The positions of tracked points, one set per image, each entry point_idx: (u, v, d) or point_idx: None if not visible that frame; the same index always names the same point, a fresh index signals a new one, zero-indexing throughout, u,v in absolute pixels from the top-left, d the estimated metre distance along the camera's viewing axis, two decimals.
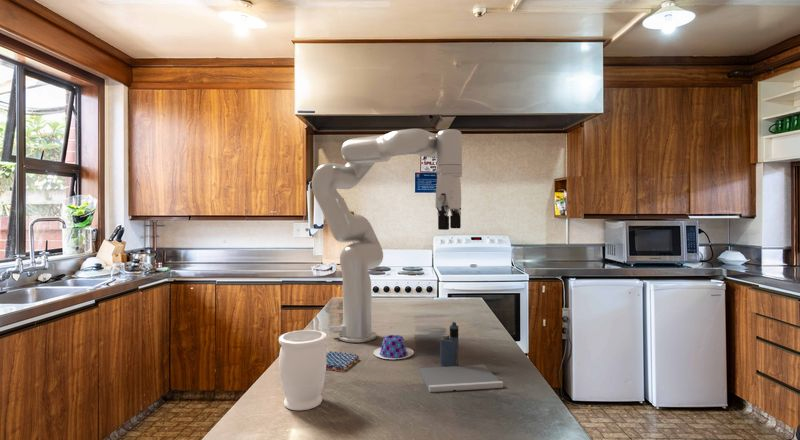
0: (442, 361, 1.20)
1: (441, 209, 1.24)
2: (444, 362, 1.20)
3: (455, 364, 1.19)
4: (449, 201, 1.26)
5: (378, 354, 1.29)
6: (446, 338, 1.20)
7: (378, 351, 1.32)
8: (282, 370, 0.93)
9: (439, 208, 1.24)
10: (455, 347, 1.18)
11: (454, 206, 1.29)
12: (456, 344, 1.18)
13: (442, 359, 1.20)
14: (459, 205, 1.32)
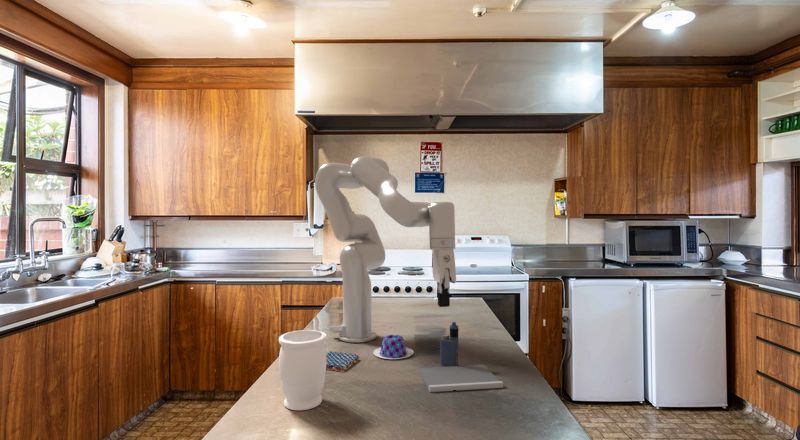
0: (442, 361, 1.20)
1: None
2: (444, 362, 1.20)
3: (455, 364, 1.19)
4: None
5: (378, 354, 1.30)
6: (446, 338, 1.20)
7: (378, 351, 1.32)
8: (282, 370, 0.93)
9: None
10: (455, 347, 1.18)
11: (435, 278, 1.30)
12: (456, 344, 1.18)
13: (442, 359, 1.20)
14: (437, 279, 1.26)
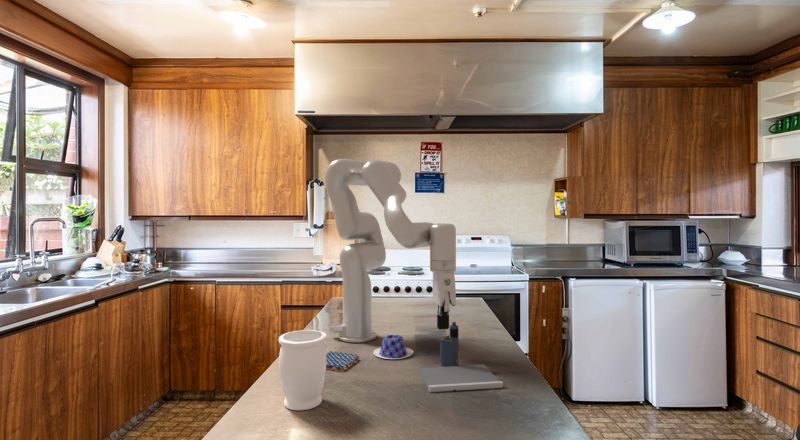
0: (442, 361, 1.20)
1: None
2: (444, 362, 1.20)
3: (455, 364, 1.19)
4: None
5: (378, 354, 1.30)
6: (446, 338, 1.20)
7: (378, 351, 1.32)
8: (282, 370, 0.93)
9: None
10: (455, 347, 1.18)
11: (434, 300, 1.29)
12: (456, 344, 1.18)
13: (442, 359, 1.20)
14: (437, 302, 1.25)
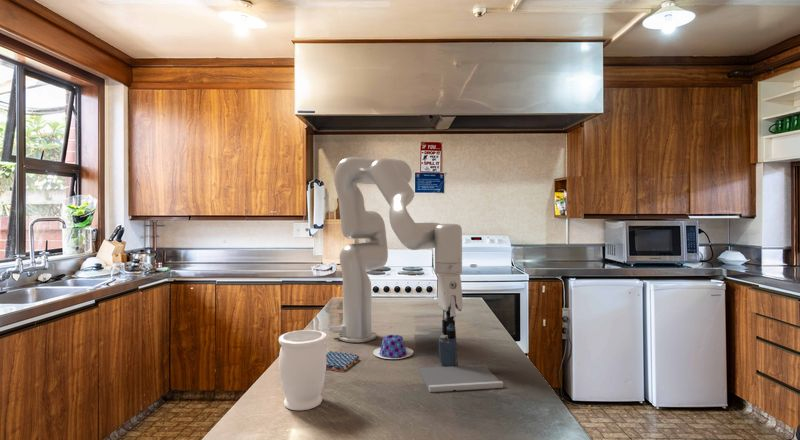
0: (442, 361, 1.20)
1: None
2: (444, 362, 1.20)
3: (455, 364, 1.19)
4: None
5: (378, 354, 1.30)
6: (444, 339, 1.19)
7: (378, 351, 1.32)
8: (282, 370, 0.93)
9: None
10: (453, 348, 1.17)
11: (439, 304, 1.22)
12: (454, 345, 1.17)
13: (441, 359, 1.20)
14: (443, 306, 1.19)
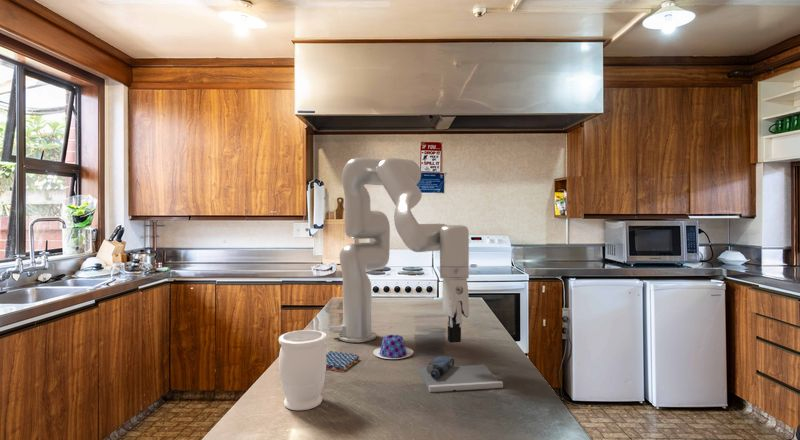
0: None
1: None
2: None
3: (452, 364, 1.18)
4: None
5: (378, 354, 1.30)
6: None
7: (378, 351, 1.32)
8: (282, 370, 0.93)
9: None
10: None
11: (445, 310, 1.16)
12: (445, 371, 1.13)
13: None
14: (448, 312, 1.12)
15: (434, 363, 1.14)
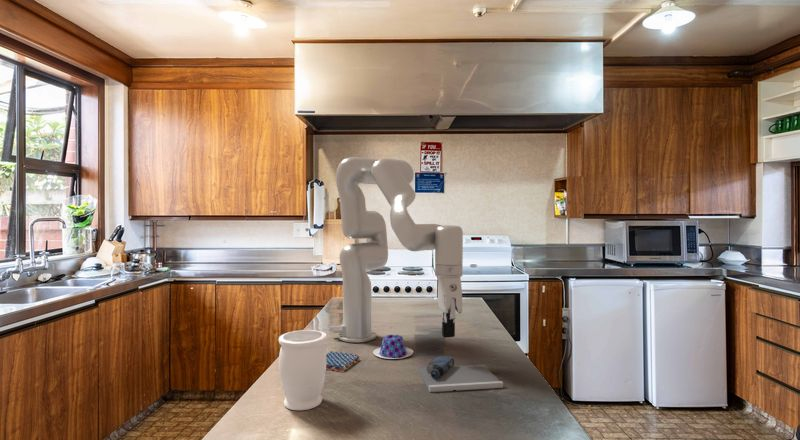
0: None
1: None
2: None
3: (452, 364, 1.18)
4: None
5: (378, 354, 1.30)
6: None
7: (378, 351, 1.32)
8: (282, 370, 0.93)
9: None
10: None
11: (439, 306, 1.22)
12: (445, 371, 1.13)
13: None
14: (442, 308, 1.18)
15: (434, 363, 1.14)
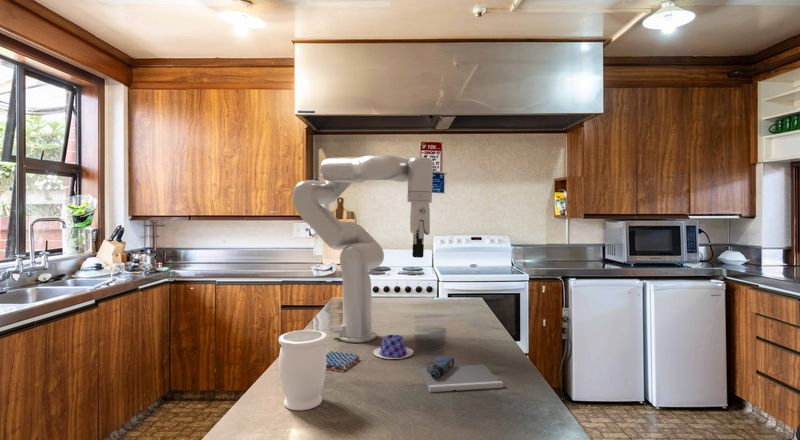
0: None
1: None
2: None
3: (452, 364, 1.18)
4: None
5: (378, 353, 1.30)
6: None
7: (378, 350, 1.32)
8: (282, 370, 0.93)
9: None
10: None
11: (411, 231, 1.36)
12: (445, 371, 1.13)
13: None
14: (412, 230, 1.32)
15: (434, 363, 1.14)
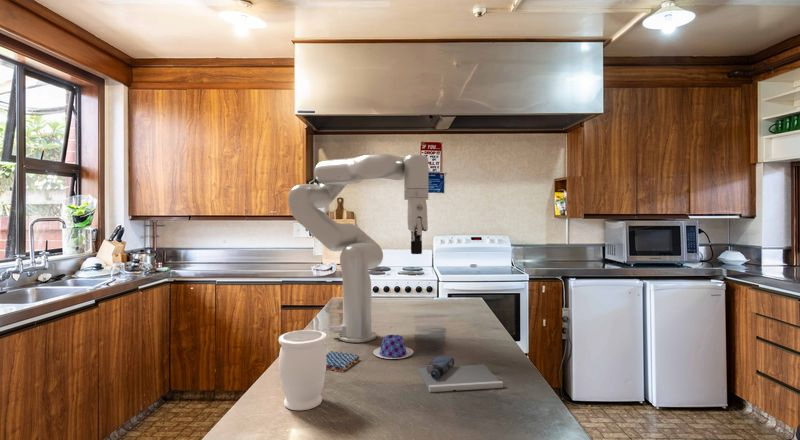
0: None
1: None
2: None
3: (452, 364, 1.18)
4: None
5: (378, 353, 1.30)
6: None
7: (378, 350, 1.33)
8: (282, 370, 0.93)
9: None
10: None
11: (409, 228, 1.38)
12: (445, 371, 1.13)
13: None
14: (410, 227, 1.34)
15: (434, 363, 1.14)
